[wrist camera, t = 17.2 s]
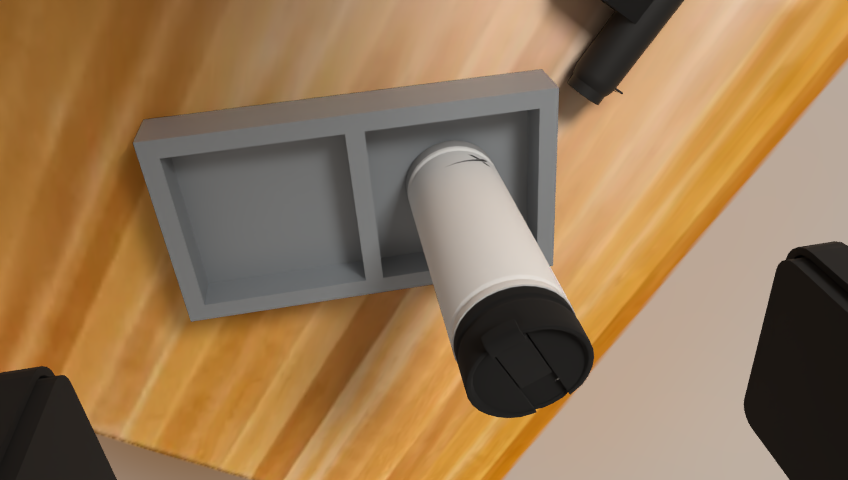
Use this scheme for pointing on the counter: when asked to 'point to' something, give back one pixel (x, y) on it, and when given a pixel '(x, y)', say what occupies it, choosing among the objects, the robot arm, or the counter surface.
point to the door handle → (620, 45)
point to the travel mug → (494, 285)
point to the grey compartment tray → (332, 187)
